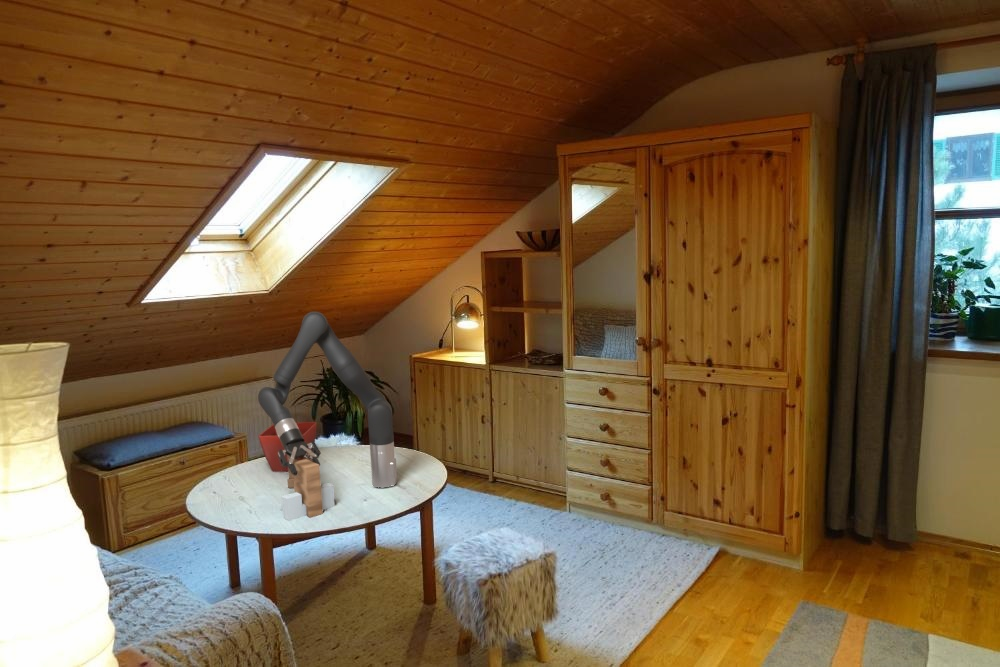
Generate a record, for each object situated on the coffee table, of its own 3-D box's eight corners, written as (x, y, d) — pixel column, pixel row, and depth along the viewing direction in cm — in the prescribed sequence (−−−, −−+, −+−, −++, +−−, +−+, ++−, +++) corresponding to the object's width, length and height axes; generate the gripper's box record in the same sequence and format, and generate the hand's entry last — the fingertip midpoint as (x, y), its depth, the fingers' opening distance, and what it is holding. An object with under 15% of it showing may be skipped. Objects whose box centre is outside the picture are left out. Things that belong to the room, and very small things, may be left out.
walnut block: (296, 510, 256) (292, 462, 254) (308, 506, 260) (305, 458, 257) (309, 517, 249) (306, 468, 247) (322, 513, 253) (319, 464, 250)
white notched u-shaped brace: (329, 503, 262) (328, 482, 261) (334, 506, 259) (333, 485, 258) (283, 518, 250) (282, 496, 248) (288, 521, 247) (286, 498, 246)
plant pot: (260, 475, 295) (257, 435, 293) (277, 460, 314) (274, 422, 312) (306, 474, 294) (303, 434, 292) (320, 459, 313) (317, 422, 311)
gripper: (273, 432, 251) (291, 470, 245) (310, 423, 261) (328, 460, 254) (267, 444, 256) (285, 482, 250) (304, 435, 266) (322, 471, 259)
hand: (307, 471), depth 252 cm, fingers open, 8 cm apart
